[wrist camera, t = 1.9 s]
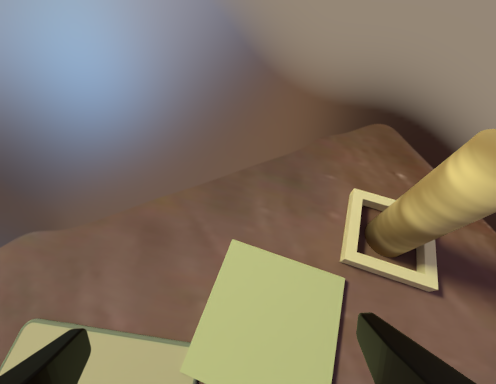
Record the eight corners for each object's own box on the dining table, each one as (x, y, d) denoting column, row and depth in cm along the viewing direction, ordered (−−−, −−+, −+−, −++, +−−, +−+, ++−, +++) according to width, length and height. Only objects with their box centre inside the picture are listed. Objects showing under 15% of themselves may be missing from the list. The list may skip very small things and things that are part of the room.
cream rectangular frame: (428, 291, 21) (438, 290, 20) (339, 261, 22) (344, 258, 21) (425, 215, 25) (433, 210, 23) (349, 193, 26) (354, 188, 25)
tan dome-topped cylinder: (405, 263, 22) (572, 199, 11) (363, 249, 23) (478, 175, 11) (405, 226, 24) (547, 139, 13) (366, 214, 25) (468, 121, 13)
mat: (322, 435, 16) (324, 438, 16) (181, 370, 18) (179, 371, 17) (343, 279, 21) (345, 278, 21) (232, 240, 23) (232, 239, 23)
